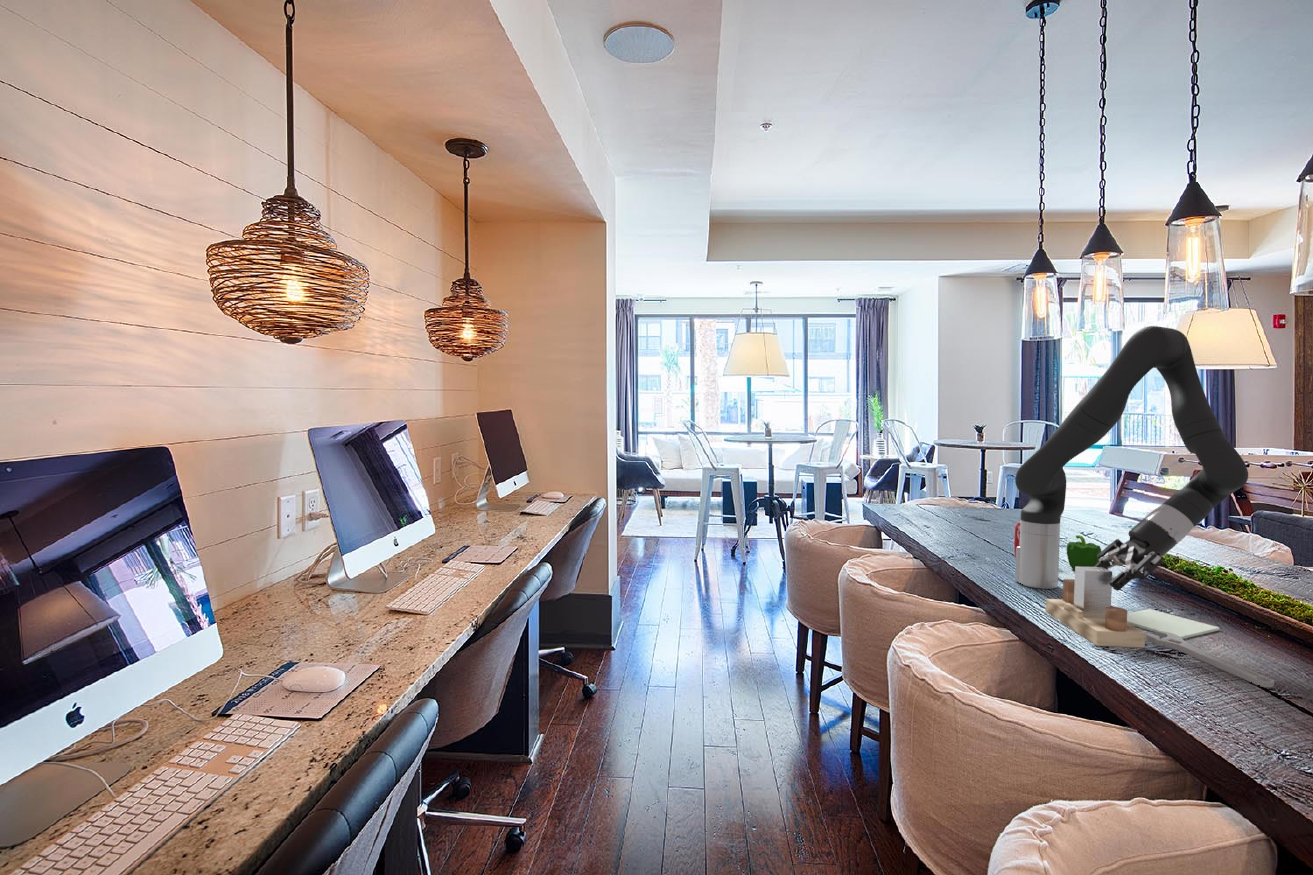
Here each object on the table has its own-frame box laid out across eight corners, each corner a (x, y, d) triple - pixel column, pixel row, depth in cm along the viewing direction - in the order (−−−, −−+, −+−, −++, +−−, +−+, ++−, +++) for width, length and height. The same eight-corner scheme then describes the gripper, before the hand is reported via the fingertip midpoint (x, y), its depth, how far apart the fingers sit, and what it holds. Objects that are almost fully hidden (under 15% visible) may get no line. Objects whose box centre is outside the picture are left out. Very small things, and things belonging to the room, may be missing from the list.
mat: (1111, 619, 151) (1111, 616, 151) (1149, 611, 156) (1149, 608, 156) (1180, 639, 138) (1180, 636, 138) (1219, 630, 144) (1219, 627, 144)
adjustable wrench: (1278, 690, 115) (1279, 680, 115) (1241, 691, 115) (1242, 681, 115) (1167, 638, 140) (1167, 629, 140) (1136, 638, 140) (1137, 629, 140)
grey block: (1073, 611, 147) (1075, 566, 146) (1100, 611, 146) (1101, 567, 146) (1083, 616, 143) (1084, 570, 142) (1110, 617, 142) (1112, 571, 142)
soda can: (1043, 563, 202) (1044, 524, 201) (1018, 562, 203) (1019, 523, 203) (1035, 558, 209) (1036, 520, 208) (1010, 557, 210) (1011, 519, 210)
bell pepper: (1105, 574, 189) (1106, 540, 188) (1073, 573, 191) (1074, 538, 190) (1092, 567, 197) (1093, 534, 197) (1061, 566, 199) (1063, 533, 198)
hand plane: (1045, 611, 156) (1046, 577, 156) (1086, 612, 155) (1087, 578, 155) (1096, 645, 134) (1098, 606, 134) (1144, 647, 133) (1146, 608, 133)
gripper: (1128, 512, 149) (1072, 561, 151) (1170, 524, 135) (1107, 578, 137) (1152, 536, 149) (1096, 585, 151) (1197, 550, 135) (1134, 604, 137)
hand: (1101, 581), depth 144 cm, fingers open, 8 cm apart
